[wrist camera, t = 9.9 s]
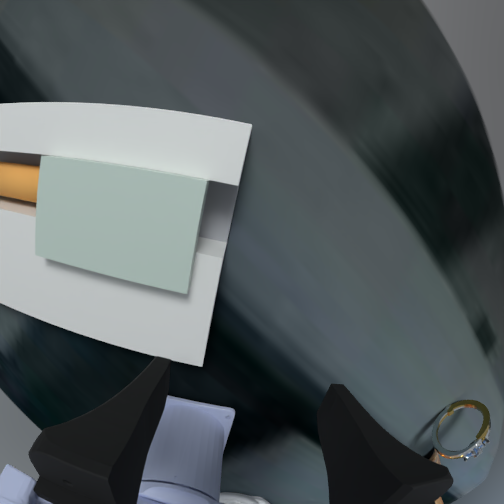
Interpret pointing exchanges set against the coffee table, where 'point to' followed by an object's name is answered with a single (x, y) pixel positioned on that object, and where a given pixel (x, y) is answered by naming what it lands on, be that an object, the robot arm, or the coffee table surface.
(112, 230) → the cover
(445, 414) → the ring
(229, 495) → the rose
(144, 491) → the robot arm
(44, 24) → the coffee table surface
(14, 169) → the orange rounded rod
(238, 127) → the board
